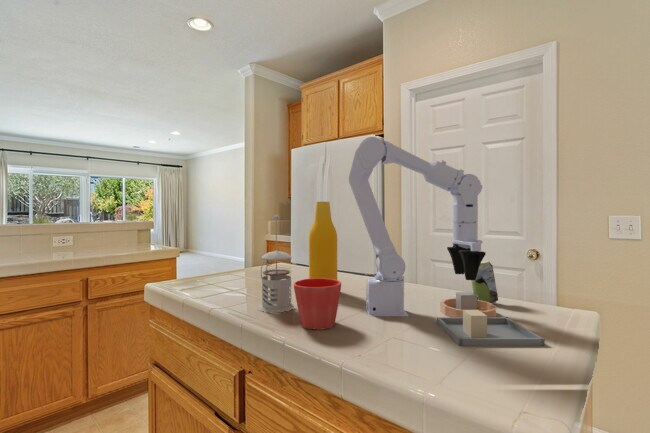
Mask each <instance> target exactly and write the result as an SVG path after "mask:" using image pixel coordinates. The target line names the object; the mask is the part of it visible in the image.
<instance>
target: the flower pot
mask: <svg viewBox="0 0 650 433" xmlns="http://www.w3.org/2000/svg"><path fill="white" fill-rule="evenodd" d="M293 289H294V296H295V301H296V305H297V311H298V315H299V320H300V324H301V327H303V328H305V329H308V330H325V329H326V330H327V329H330V328H333V327H334V326H335V323H336V318H337V313H338V309H339V303H340V297H341V291H342V290H341V289H342V282H341V281H340V280H338V279H337V280H334V279H326V278H312V279H309V278H305V279H299V280H297V281H295V282H294V283H293Z"/></svg>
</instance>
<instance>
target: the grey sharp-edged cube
mask: <svg viewBox="0 0 650 433" xmlns="http://www.w3.org/2000/svg"><path fill="white" fill-rule="evenodd" d="M455 298H456V309H460V310H477V295H476V294H474V293H473V291H457V292H456V291H455Z"/></svg>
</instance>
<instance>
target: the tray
mask: <svg viewBox="0 0 650 433" xmlns="http://www.w3.org/2000/svg"><path fill="white" fill-rule="evenodd" d="M436 324H437V325H438V326H439V327H440V328H441V329H442V330H443V331H444V332H445V333H446V334H447V335H448V336H449V337H450V338H451V339H452V340H453V341H454V342H455V343H456V344H457V345H458V346H459V347H484V346H485V347H486V346H487V347H499V346H500V347H507V346H508V347H513V346H514V347H516V346H517V347H522V346H523V347H525V346H526V347H530V346H531V347H534V346H535V347H536V346H537V347H538V346H539V347H541V346H542V347H544V346H545V345H546V344H545V343H546V342H545V338H543V337H542V336H540V335H538V334H537V333H535V332H534V331H531V330H530V329H528V328H527V327H524V326H523V325H521V324H519V323H518V322H516V321H514V320H513V319H511V318H510V317H505V316H504V317H503V316H502V317H500V316H499V317H497V316H496V317H487V338H471V337H470V336H469V335H467V334H466V333H465V332H464V331H463V317H448V316H445V317H441V316H440V317H436Z"/></svg>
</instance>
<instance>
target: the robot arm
mask: <svg viewBox="0 0 650 433" xmlns="http://www.w3.org/2000/svg"><path fill="white" fill-rule="evenodd" d="M379 162H381V166H382V165H389V164H396V165H399V166H401V167H402V168H403V167H404V168H406V169H409V170H411V171H413V172H416V173H419V174H422V175H423V177H424V180H425V181H426V182H427V183H428V184H431V185H433V186H436V187H438V188H439V189H442V190H444V191H447V192H450V194H451V196H452V197H453V200H452V202H453V203H452V238H451V246H447V247H446V250H447V251H448V253H449V255H450V257H451V262H452V267H453V270H454V273H455V275H464V278H465V280H466V281H471V280H476V277H477V273H478V269H479V266H480V263H481V261H483V259H484V257H485V256H486V255H487V254H486V252H485V251H482V244H483V240H481V239H478V237H479V235H478V234H479V233H478V231H479V228H478V227H479V226H478V221H479V215H478V214H479V209H478V208H479V205H478V203H479V202H478V201H479V199H478V198H479V194H481V192H482V189H483V184H482V183H481V180H480V179H479V177H478V176H477V175H475V174H472V173H466V174H465V173H464V172H465V171H464V169H456V168H454V167H452V166H450V165H448V164H447V161H445V160H440V161H439V160H434V161H432V162H429V161H426V160H425V159H423V158H421V157H418V156H417V155H415V154H413V153H411V152H409V151H407V150H404V149H403V148H402V147H399V146H397V145H395V144H394V143H391V142H390V141H387V140H381V139H380V138H379V137H376V136H368V137H366V138H364V139H363V140H361V142H360V144H359V145H358V147H357V149H356V150H355V153H354V154H353V159H352V162H351V167H350V172H349V175H348V183H349V186H350V188H351V191H352V194H353V197H354V199H355V202H356V206H357V207H358V210H359V212H360V215H361V218H362V220H363V223H364V226H365V229H366V231H367V233H368V236H369V238H370V239H369V240H370V241H371V244H372V248H373V252H374V255H375V260H374V261H375V262H374V263H375V267H376V269H377V270H378V271H377V273H376V274H375V275H374V277H373V278H372V277H371V278H367V279H366V288H365V290H366V294H365V295H366V297H365V298H366V301H365V309H366V312H367V313H368V316H369V318H371V317H409V316H410V315H409V314H408V313H407V312H406V311H405V276H404V274H405V272H406V262H405V260H404V259H403V258H402V256H400V255H399V254H398V252H397V249H396V248H395V247H396V246H394V243H393V242H392V240H391V237H390V234H389V232H388V229H387V226H386V224H385V222H384V219H383V216H382V214H381V211H380V208H379V206H378V203H377V201H376V198H375V195H374V192H373V189H372V187H371V185H370V182H369V179H370V177H371V174H372V172H373V171H374V168H375V167H377V165H378V164H379Z"/></svg>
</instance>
